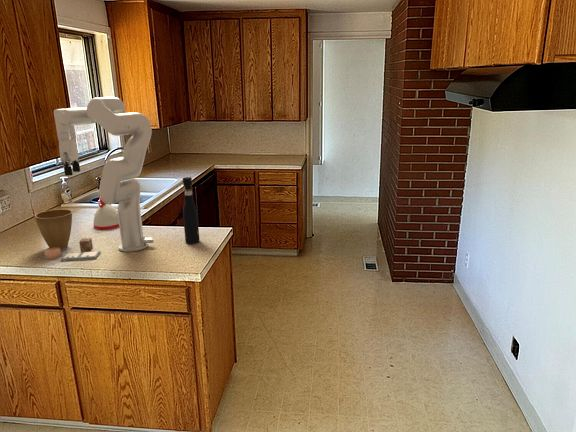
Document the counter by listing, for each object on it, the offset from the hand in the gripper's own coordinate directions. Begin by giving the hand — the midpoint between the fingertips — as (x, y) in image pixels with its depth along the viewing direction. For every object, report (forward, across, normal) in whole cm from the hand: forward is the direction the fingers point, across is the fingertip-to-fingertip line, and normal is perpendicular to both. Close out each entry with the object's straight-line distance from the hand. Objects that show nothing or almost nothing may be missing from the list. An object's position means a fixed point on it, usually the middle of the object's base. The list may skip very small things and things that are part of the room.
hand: (72, 173), depth 211 cm
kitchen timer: (+31, -18, +7) cm, 37 cm away
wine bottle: (+32, +16, +54) cm, 65 cm away
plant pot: (+31, +14, -6) cm, 35 cm away
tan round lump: (+32, +27, -3) cm, 41 cm away
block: (+32, +20, +8) cm, 38 cm away
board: (+31, +29, +9) cm, 43 cm away
